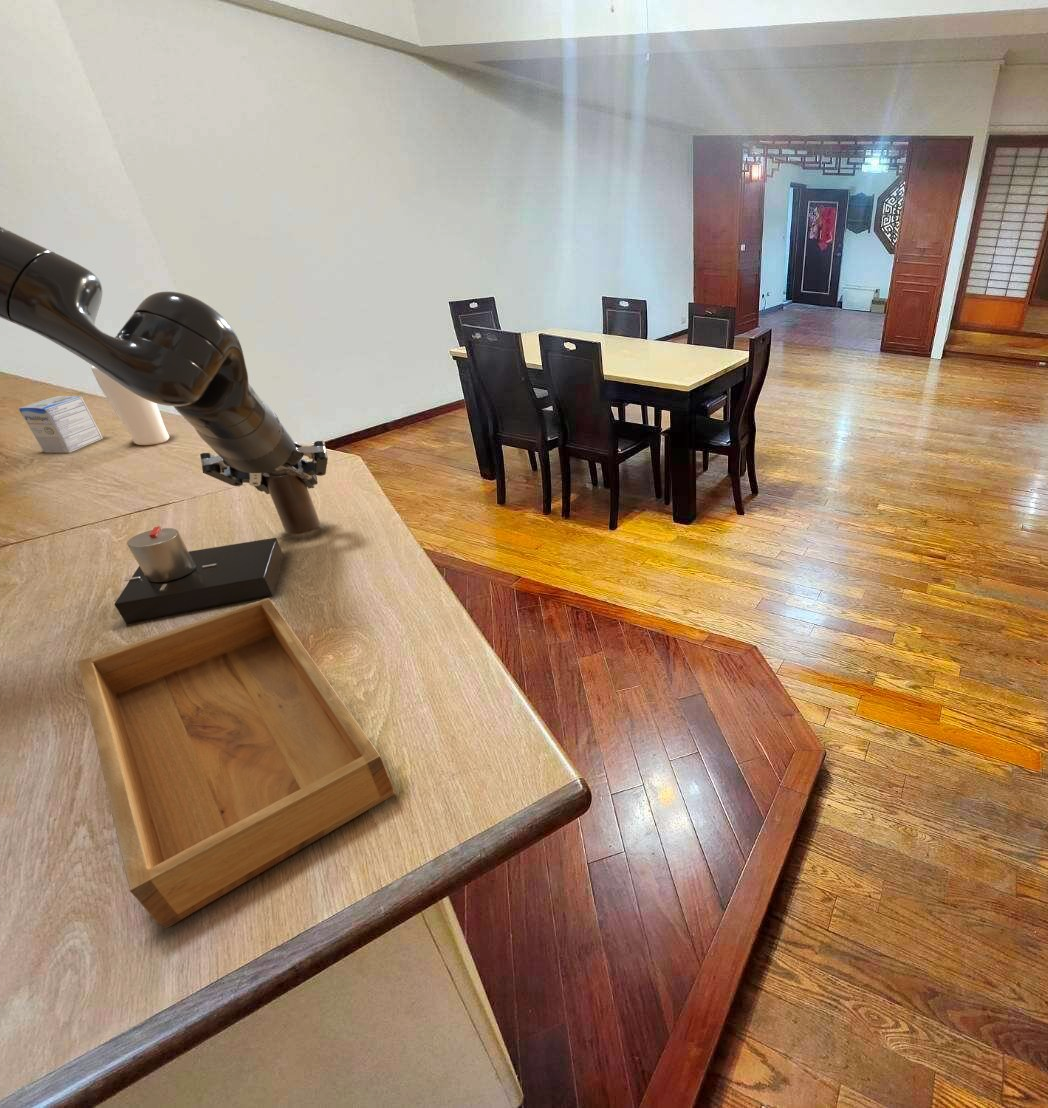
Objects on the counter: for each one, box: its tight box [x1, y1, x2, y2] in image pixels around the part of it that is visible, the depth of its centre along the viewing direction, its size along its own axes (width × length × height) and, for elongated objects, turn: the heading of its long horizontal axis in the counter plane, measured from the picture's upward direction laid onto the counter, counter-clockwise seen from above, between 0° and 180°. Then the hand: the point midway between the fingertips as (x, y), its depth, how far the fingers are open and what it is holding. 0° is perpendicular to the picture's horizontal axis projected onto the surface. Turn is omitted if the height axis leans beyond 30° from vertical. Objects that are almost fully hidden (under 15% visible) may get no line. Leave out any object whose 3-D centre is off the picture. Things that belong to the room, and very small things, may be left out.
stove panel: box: [114, 537, 285, 625], centre depth 74 cm, size 14×11×3 cm
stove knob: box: [126, 525, 196, 582], centre depth 71 cm, size 5×5×5 cm
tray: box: [77, 597, 395, 929], centre depth 52 cm, size 31×15×6 cm, turn 48°
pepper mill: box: [262, 471, 321, 535], centre depth 85 cm, size 4×4×10 cm
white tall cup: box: [90, 365, 170, 446], centre depth 113 cm, size 7×7×15 cm
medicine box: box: [18, 395, 104, 454], centre depth 111 cm, size 8×4×9 cm, turn 6°
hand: (290, 484), depth 86 cm, fingers closed on pepper mill, 4 cm apart
